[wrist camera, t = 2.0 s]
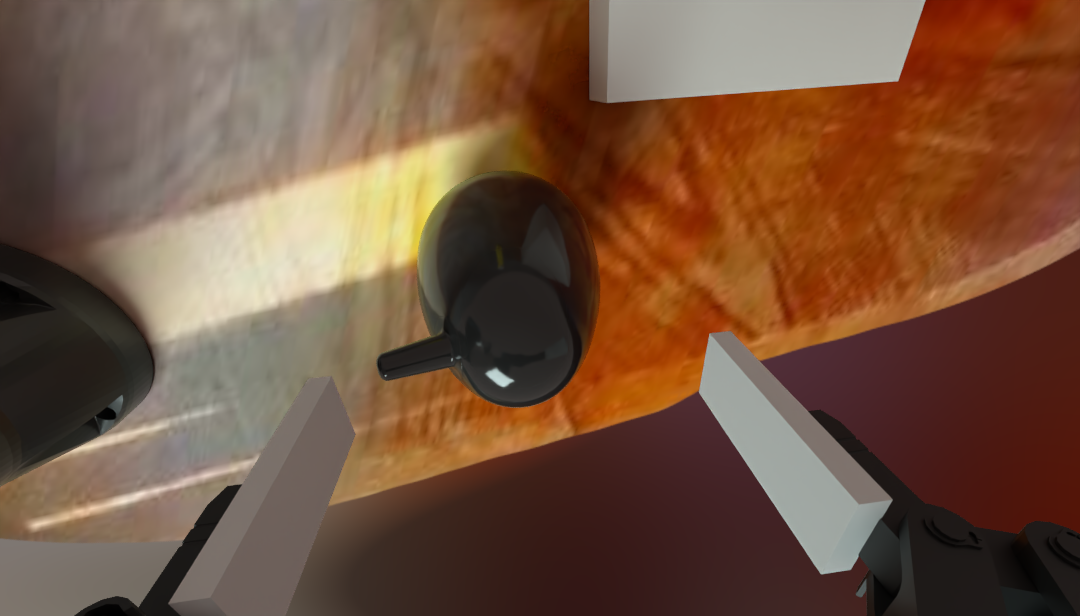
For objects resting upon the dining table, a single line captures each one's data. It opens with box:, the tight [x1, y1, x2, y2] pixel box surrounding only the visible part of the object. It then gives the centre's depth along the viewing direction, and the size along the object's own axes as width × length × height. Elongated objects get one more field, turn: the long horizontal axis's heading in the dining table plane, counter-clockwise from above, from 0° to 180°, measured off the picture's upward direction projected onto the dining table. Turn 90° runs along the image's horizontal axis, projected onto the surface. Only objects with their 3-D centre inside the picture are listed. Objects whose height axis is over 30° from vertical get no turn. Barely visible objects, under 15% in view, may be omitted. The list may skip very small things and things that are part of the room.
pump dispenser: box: [376, 171, 600, 408], centre depth 21 cm, size 10×10×15 cm
